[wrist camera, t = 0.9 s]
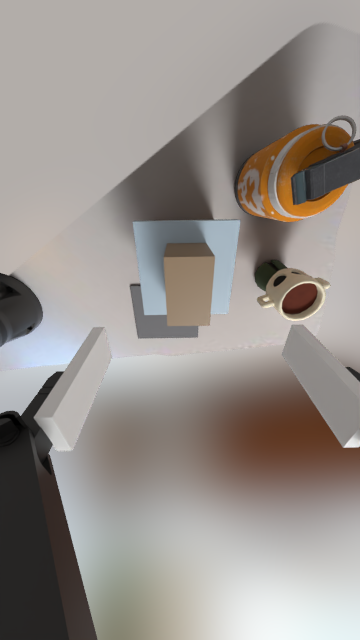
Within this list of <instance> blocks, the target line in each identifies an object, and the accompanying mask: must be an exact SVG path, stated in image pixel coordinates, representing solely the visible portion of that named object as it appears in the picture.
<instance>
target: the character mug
mask: <svg viewBox="0 0 360 640" xmlns="http://www.w3.org/2000/svg"><path fill="white" fill-rule="evenodd" d="M271 262H272V263H273V264H267V263H266V262H265V263H263V264H262V265H261V266H260V267H259V268H258V270H257V272H256V274H255V282H256V284H257V286H258V287H260V288H261V289H262V290H264V291H266V295H263V296H260V297H258V298H257V301H258V303H259V304H260V305H261V307H262V308H268V307H271V306H273V307H274V308H275V309H276V310H277V311H278V312H279V314H281V315H282V316H283V317H285V318H286V319H288V320H293V321H297V320H304V319H306V318H308V317H310V316H312V315H313V314H314V313H316V312H317V311H318V310H319V309H320V307H321V306H322V305H323V303H324V301H325V297H326V292H325V289H327V288H329V287H330V286H331V285H330V284H329V282H327V281H325V280H323V279H322V278H313V277H311V276H309V275H307V274H306V273H304V272H303V271H301V270H298V269H293V268H287V267H286V266H285V265H284V264H282V263H281V262H279V261H276V260H271ZM265 300H268V302H265Z"/></svg>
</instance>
